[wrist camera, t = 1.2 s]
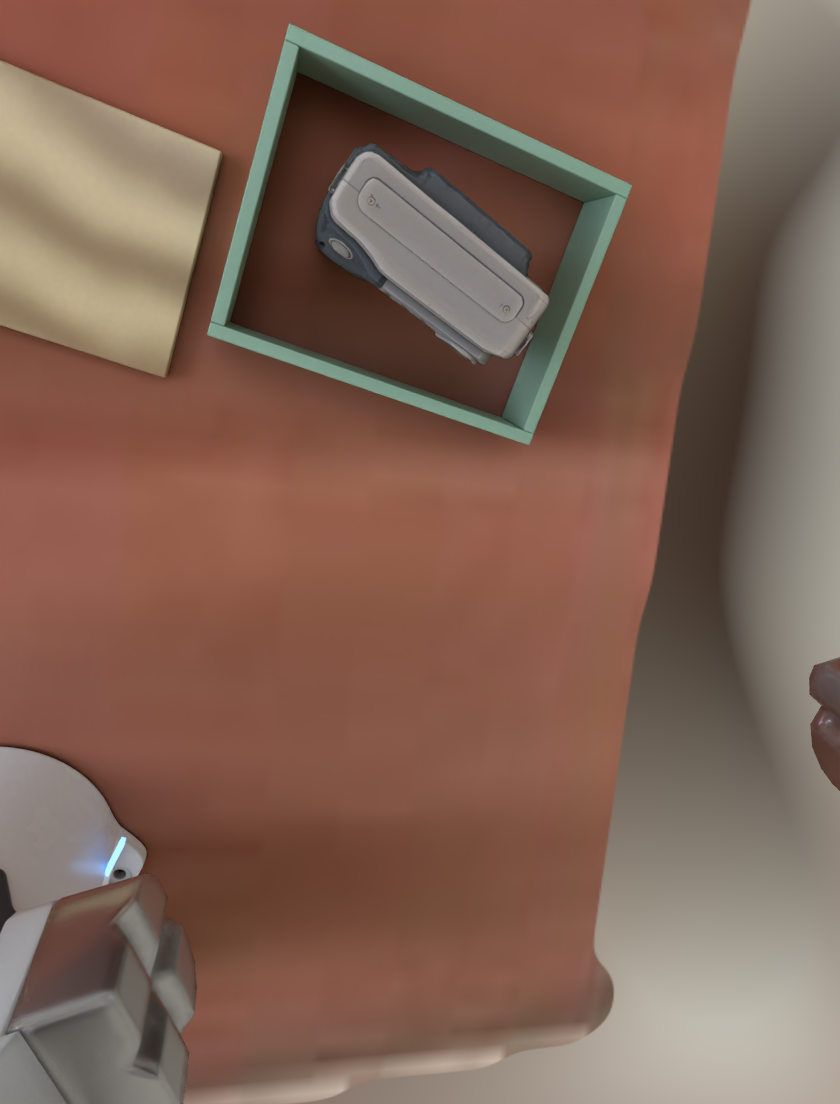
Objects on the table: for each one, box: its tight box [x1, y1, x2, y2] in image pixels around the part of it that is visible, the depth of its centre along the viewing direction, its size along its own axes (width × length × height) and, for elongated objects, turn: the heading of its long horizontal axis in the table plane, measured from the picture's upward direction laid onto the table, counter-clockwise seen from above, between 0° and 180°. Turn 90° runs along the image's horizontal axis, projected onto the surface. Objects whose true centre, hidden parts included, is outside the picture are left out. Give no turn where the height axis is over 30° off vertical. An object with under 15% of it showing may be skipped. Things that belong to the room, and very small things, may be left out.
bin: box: [207, 24, 632, 445], centre depth 40 cm, size 14×18×4 cm
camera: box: [315, 143, 549, 365], centre depth 37 cm, size 11×6×10 cm, turn 52°
